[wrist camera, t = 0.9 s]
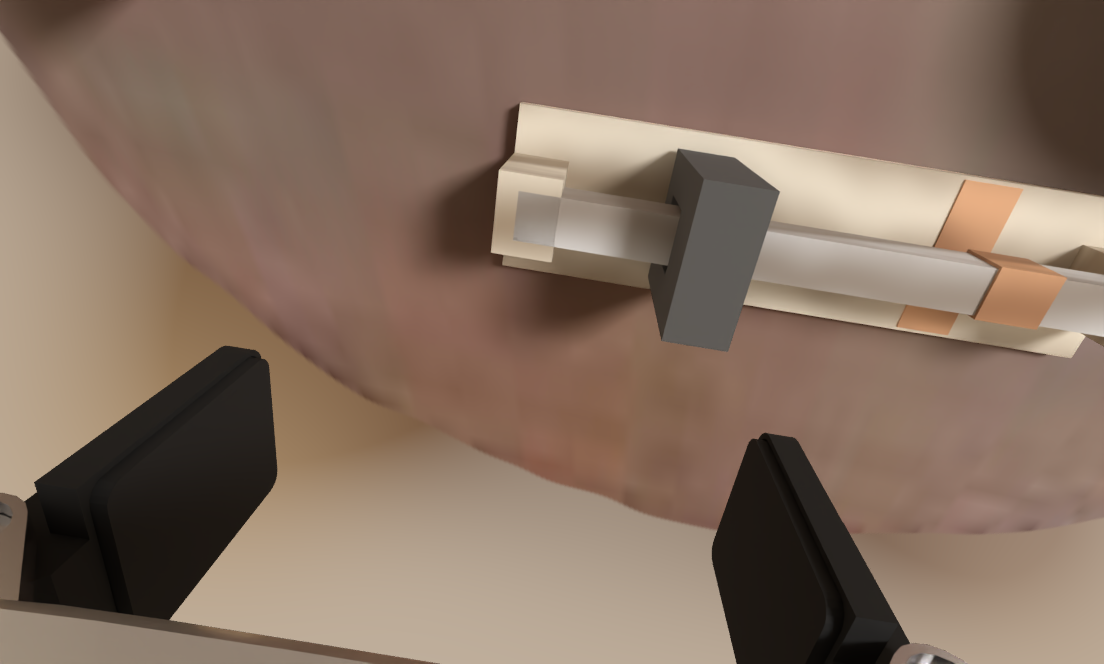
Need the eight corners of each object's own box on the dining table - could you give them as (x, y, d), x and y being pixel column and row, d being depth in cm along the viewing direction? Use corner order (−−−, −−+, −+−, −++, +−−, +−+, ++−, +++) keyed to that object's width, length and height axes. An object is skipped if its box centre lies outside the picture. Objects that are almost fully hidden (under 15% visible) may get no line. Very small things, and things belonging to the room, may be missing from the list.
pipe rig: (522, 101, 30) (504, 112, 24) (1151, 203, 30) (1279, 238, 24) (504, 259, 34) (485, 300, 28) (1058, 350, 34) (1150, 409, 28)
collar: (678, 148, 29) (704, 179, 22) (734, 157, 29) (780, 191, 22) (647, 276, 32) (661, 340, 25) (699, 284, 32) (727, 351, 25)
